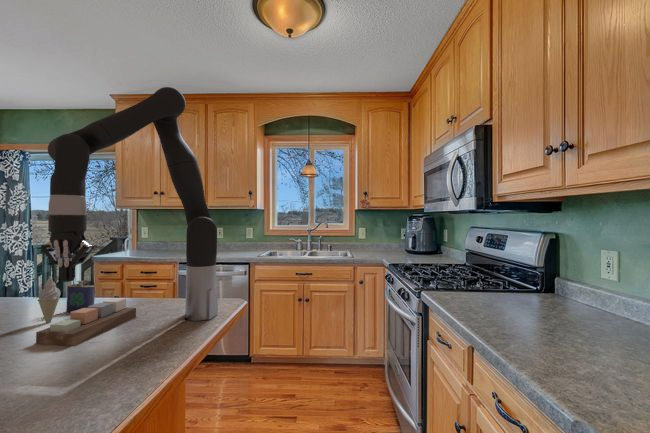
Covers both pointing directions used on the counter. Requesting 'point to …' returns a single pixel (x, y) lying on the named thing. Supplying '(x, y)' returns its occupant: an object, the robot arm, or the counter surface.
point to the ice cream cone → (49, 299)
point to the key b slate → (103, 309)
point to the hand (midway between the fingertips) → (67, 281)
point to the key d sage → (65, 325)
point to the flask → (79, 296)
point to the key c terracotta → (85, 315)
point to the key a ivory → (117, 303)
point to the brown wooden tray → (86, 329)
